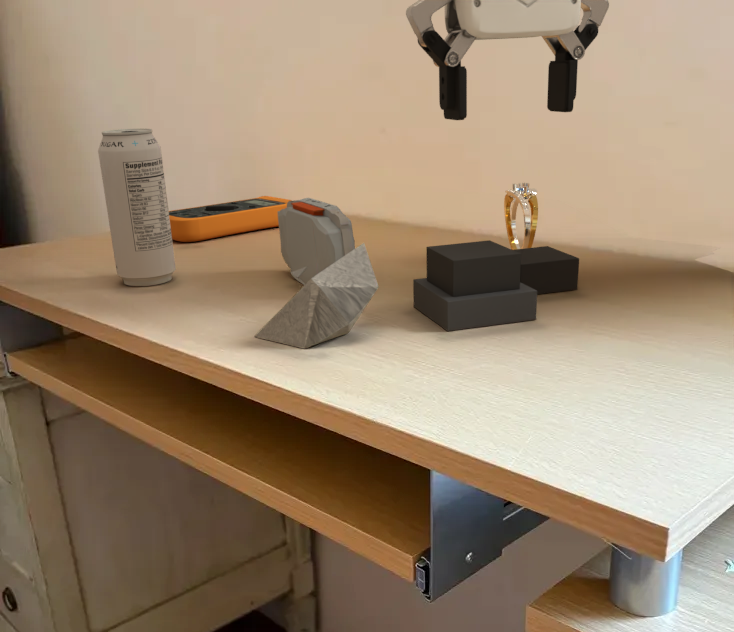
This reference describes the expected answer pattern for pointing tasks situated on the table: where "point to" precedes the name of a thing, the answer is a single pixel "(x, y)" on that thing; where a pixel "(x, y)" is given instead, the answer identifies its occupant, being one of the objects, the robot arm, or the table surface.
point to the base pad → (474, 306)
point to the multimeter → (225, 218)
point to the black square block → (473, 268)
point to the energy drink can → (137, 206)
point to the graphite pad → (548, 269)
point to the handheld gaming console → (313, 236)
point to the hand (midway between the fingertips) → (508, 115)
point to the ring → (510, 220)
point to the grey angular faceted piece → (325, 303)
